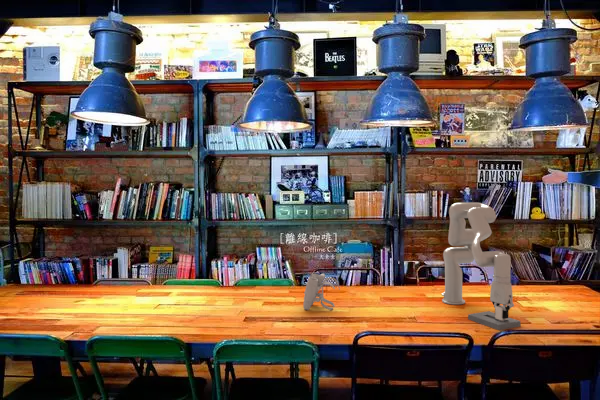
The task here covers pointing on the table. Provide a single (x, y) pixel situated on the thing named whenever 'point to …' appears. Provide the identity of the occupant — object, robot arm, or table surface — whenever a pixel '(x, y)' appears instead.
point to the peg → (499, 313)
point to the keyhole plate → (493, 320)
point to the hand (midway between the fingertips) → (501, 316)
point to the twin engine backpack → (316, 291)
